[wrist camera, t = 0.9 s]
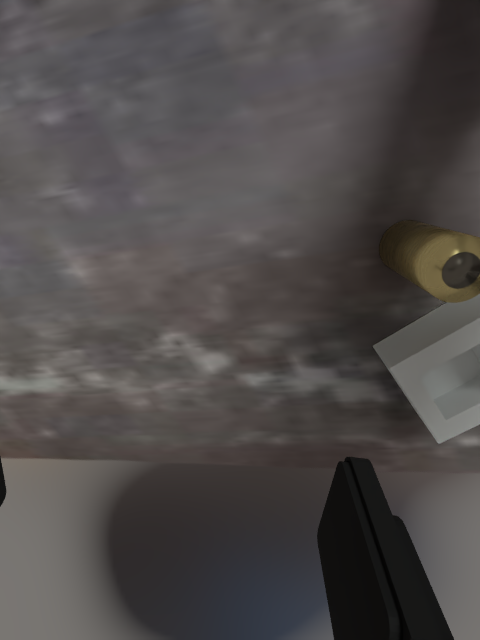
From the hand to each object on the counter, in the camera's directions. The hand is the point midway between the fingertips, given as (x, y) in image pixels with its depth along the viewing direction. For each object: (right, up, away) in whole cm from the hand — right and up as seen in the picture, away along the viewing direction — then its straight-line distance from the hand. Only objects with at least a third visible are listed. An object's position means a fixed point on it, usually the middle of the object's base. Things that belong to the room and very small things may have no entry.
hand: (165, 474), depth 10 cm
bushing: (+17, +11, +22) cm, 29 cm away
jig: (+23, +1, +25) cm, 34 cm away
